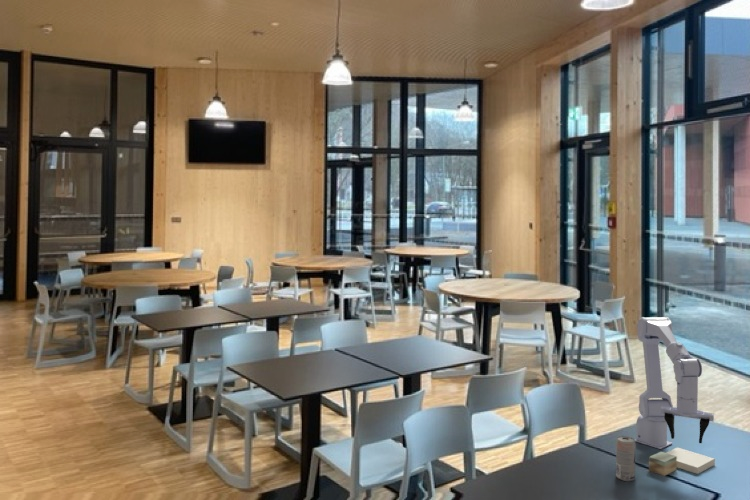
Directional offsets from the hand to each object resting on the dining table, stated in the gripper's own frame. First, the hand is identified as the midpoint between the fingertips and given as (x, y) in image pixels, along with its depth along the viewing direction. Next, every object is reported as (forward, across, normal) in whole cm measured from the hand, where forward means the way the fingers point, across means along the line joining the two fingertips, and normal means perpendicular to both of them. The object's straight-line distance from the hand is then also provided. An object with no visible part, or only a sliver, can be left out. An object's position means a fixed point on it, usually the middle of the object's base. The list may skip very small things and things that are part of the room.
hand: (686, 439), depth 190 cm
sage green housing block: (+10, -6, -4) cm, 12 cm away
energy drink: (+10, -15, -15) cm, 23 cm away
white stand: (+10, 0, +6) cm, 11 cm away
